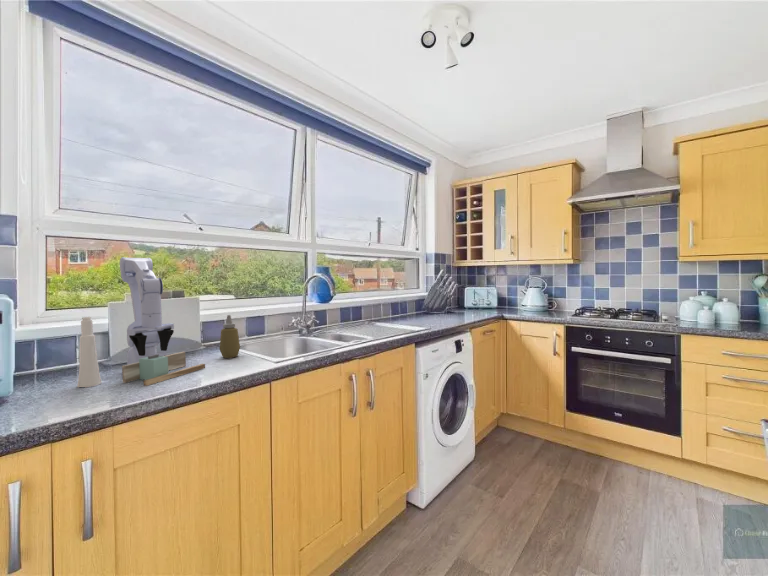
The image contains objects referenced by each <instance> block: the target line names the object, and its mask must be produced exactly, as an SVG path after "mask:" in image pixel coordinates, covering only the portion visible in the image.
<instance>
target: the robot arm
mask: <svg viewBox="0 0 768 576" xmlns="http://www.w3.org/2000/svg"><path fill="white" fill-rule="evenodd" d="M153 266H154V264H153V260H152V258H151V257H121V258H120V259H119V270H120V277H121V279H122V282H125V283H127V284H128V288H129V289H130V290H129V291H130V297H131V298H130V299H131V304H132V305H131V306H132V310H133V318H134V321H133V322H132V323H130V324H129V325H127V328H126V340H127V341H126V342H127V345H128V347H130V348H129V349H128V350H127V353H126V365H128V364H132V363H137V362H139V359H141V358H145V357H148V356H152V355H156V354H157V355H158V352H157V346H158V344H159V346H160V347H159V348H160V351H163V352H167V351H168V346H169V343H170V340H171V338H172V335H174V333H175V332H174V331H175V330H174V329H175V325H174V324H175V323H173V322H172V323H163V316H162V295H163V292H164V284H163V280H162V278H161V277H157V276H156V275H155V272H154V271H153V269H154V267H153Z"/></svg>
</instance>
